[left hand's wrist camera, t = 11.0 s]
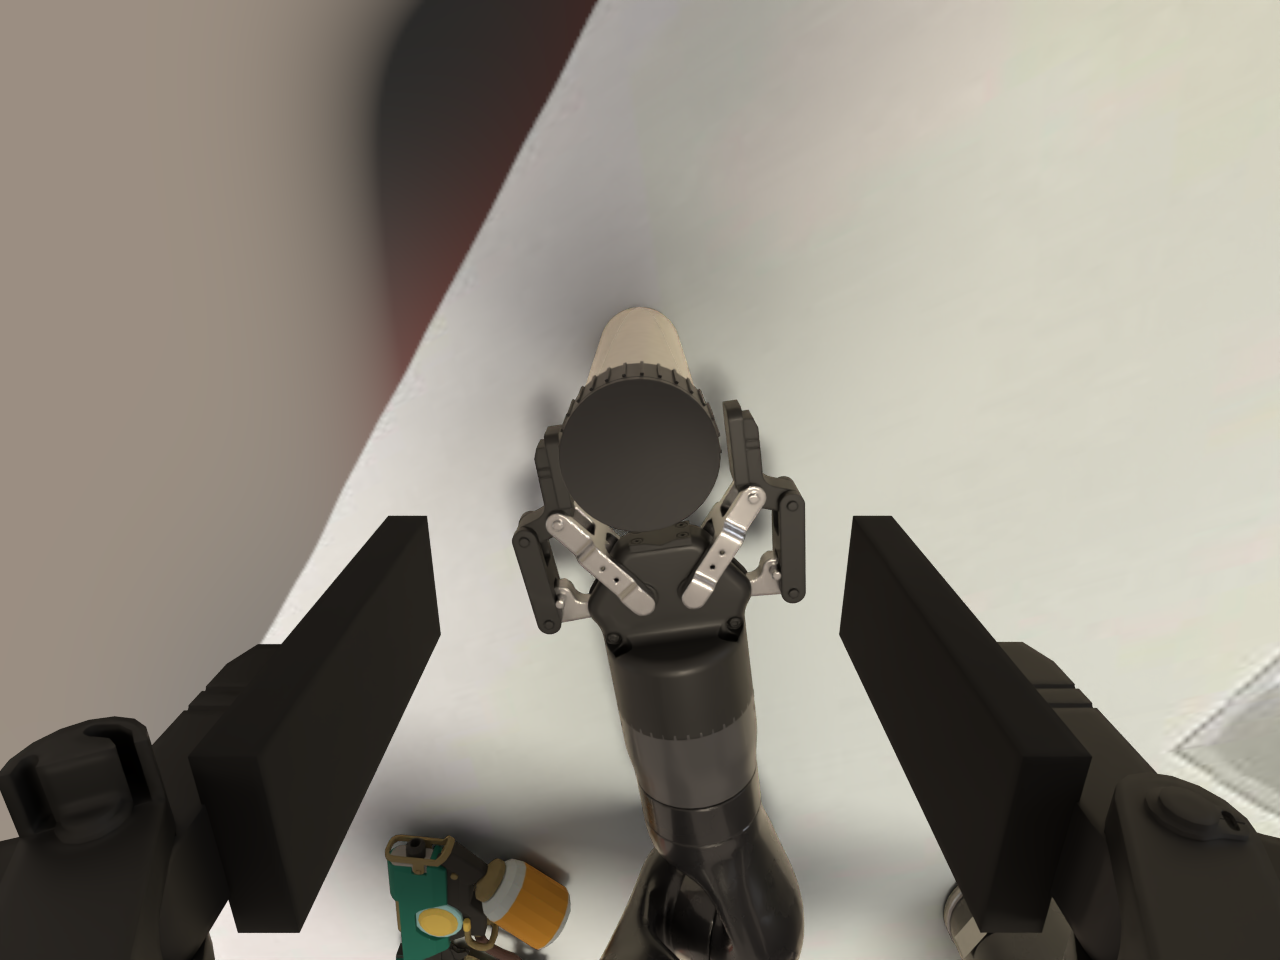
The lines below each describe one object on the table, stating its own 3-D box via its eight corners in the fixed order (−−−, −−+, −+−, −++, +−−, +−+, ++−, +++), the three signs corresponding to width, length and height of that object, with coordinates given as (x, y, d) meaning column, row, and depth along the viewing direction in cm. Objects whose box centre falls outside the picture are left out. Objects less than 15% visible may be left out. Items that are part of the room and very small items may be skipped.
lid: (582, 343, 22) (575, 357, 20) (733, 381, 23) (744, 399, 20) (550, 486, 24) (541, 514, 22) (692, 518, 24) (697, 550, 22)
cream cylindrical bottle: (609, 297, 37) (584, 367, 20) (689, 318, 38) (729, 402, 21) (591, 377, 39) (554, 502, 22) (668, 395, 39) (690, 533, 22)
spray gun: (537, 993, 58) (359, 941, 56) (604, 862, 51) (404, 800, 50) (526, 1052, 54) (334, 998, 52) (597, 919, 47) (380, 854, 46)
